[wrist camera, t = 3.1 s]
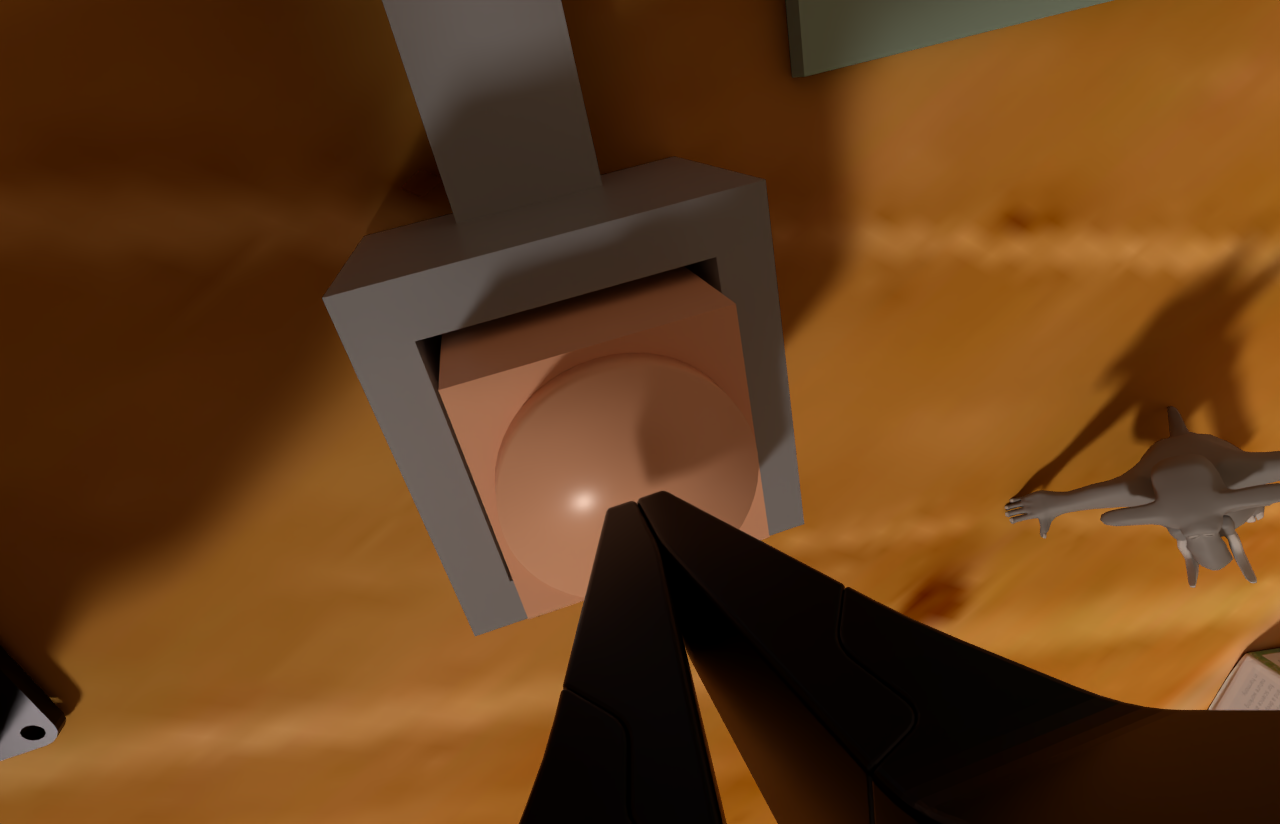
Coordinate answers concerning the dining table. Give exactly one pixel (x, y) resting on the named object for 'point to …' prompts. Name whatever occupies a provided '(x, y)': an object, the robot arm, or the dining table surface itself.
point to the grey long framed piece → (535, 259)
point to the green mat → (897, 26)
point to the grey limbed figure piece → (1177, 496)
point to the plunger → (601, 421)
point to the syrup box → (1252, 683)
